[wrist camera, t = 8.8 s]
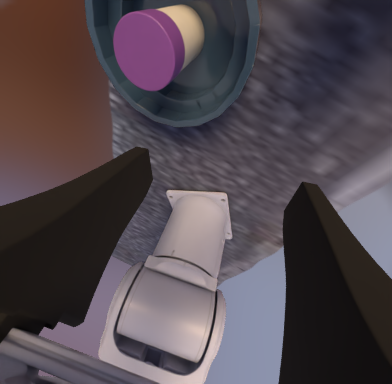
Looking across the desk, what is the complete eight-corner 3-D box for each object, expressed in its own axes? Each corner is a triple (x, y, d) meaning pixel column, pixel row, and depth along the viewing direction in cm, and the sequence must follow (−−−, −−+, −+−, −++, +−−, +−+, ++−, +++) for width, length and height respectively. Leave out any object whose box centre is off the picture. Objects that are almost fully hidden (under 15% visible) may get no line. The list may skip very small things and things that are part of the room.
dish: (260, 101, 15) (258, 122, 13) (148, 112, 19) (130, 130, 16) (266, -135, 8) (263, -181, 6) (88, -51, 12) (43, -60, 10)
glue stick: (209, 58, 14) (182, 87, 10) (169, 65, 15) (130, 95, 11) (200, -4, 12) (162, 2, 8) (155, 10, 13) (100, 21, 9)
